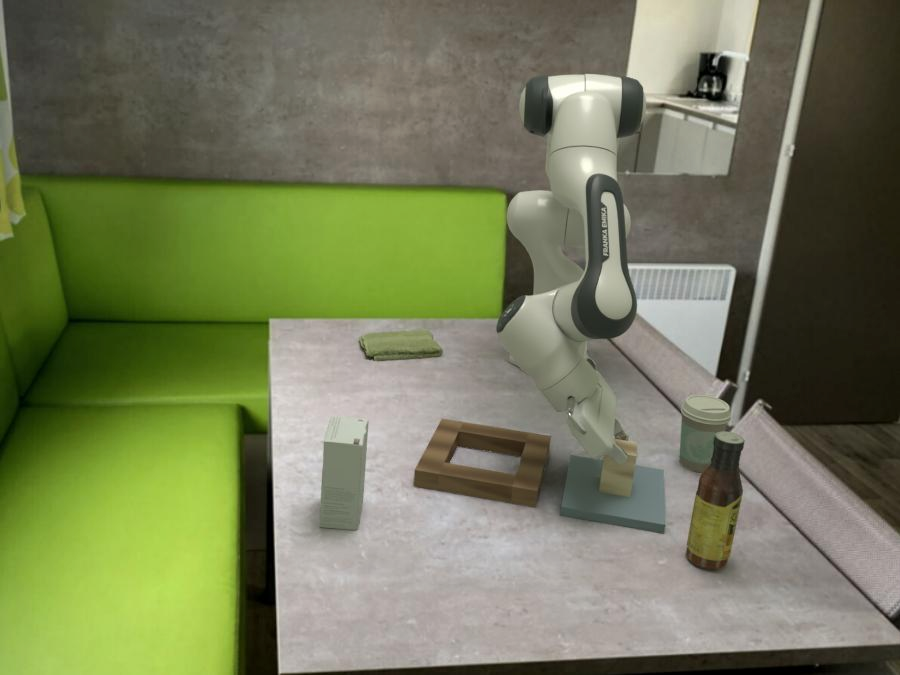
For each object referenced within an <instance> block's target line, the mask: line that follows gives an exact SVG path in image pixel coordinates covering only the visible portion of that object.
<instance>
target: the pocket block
mask: <svg viewBox="0 0 900 675" xmlns="http://www.w3.org/2000/svg"><path fill="white" fill-rule="evenodd" d="M551 437H552V436H551V435H549V434H548V435H547V434H541V433H534V432H528V431H525V430H524V431H523V430H515V429H509V428H505V427H504V428H503V427H498V426H491V425H486V424H479V423H472V422H467V421H460V420H454V419H448V418H443V417H441V419H440V422H439V423H438V425H437V427H436V428H435V430H434V433H433V434H432V436H431V438H430V440H429V442H428V444H427V446H426V448H425V450H424V451H423V453H422V455H421V457H420V459H419V461H418V463H417V465H416V466H415V468H414V476H413V477H414V478H413V486H414V487H419V488H423V489H429V490H433V491H441V492H447V493H450V494H451V493H452V494H457V495H463V496H469V497H474V498H480V499H486V500H492V501H498V502H502V503H503V502H504V503H508V504H515V505H521V506H525V507H526V506H527V507H531V508H536V507H537V504H538V503H537V502H538V498H539V496H540V495H539V494H540V490H541V487H542V483H543V482H542V481H543V479H544V475H545V474H544V473H545V470H544V469H546V466H545V465H547V460H548V456H549V453H550V447H551V446H550V445H551ZM457 446H458V447H459V446H461V448H465V447H467V448H466V449H471V448H474V449H473V450H477V449H479V450H478V451H483V450H485V451H484V452H489V451H491V452H490V453H495V452H496V454H501V453H502V454H501V455H507V454H509V455H508V456H513V455H515V456H514V457H519V456H521V457H520V461H519V463H518V467H517V470H516V473H515V474H514V473H509V472H502V471H498V470H490V469H485V468H479V467H473V466H467V465H461V464H455V463H451V462H452V460H453V458H452V457H454V455H455V453H456V451H455V450H457V449H456V448H458V447H457ZM548 452H549V453H548ZM451 459H452V460H451ZM450 461H451V462H450Z"/></svg>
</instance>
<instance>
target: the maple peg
mask: <svg viewBox="0 0 900 675" xmlns="http://www.w3.org/2000/svg"><path fill="white" fill-rule="evenodd" d="M613 439H614V440H615V442H616V444H617V445H618V446H619V447H620V448H623V449H624V451H625V452H626V453H627V455H628V457H627V458H628V459H627V461H626V462H624V463H623V464H620V465H619V464H618V463H617V462H616V461H615V460H614V458H612V457H611V456H609V455H607V454H606V455H605V456H603V457H602V460H603V464H602V470H601V477H600V486H599V492H602V493H608V494H613V495H619V496H625V497H630V495H631V489H632V483H633V476H634V470H635V465H637V464H636V463H637V457H638V442H637V441H631V440H628V441H626V440H619V439H615V438H613Z"/></svg>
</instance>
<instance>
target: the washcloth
mask: <svg viewBox="0 0 900 675" xmlns="http://www.w3.org/2000/svg"><path fill="white" fill-rule="evenodd" d="M358 340H359V341H360V342H359V343H360V345H361V347H362V348H363V351H364V352H365V354H366V356H367V357H369V358H370V357H371V358H372V359H373V361H374V362H382V361H396V360H412V359H413V360H414V359H427V358H428V359H429V358H430V359H431V358H438V357H441V356H442V355H443V353H444V350H443V348H442V346H440V344H438V342H437V341H436V340H434V335H433V333H432V332H430V330H428V329H426V328H420V329H415V330H395V331H384V332H380V331H378V332H367V333H365V334H362V335H361V336H359V337H358Z"/></svg>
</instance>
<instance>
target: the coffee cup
mask: <svg viewBox="0 0 900 675" xmlns="http://www.w3.org/2000/svg"><path fill="white" fill-rule="evenodd" d="M680 411H681V424H680V426H681V427H680V441H679V442H680V444H679V458H678V459H679V460H678V461H679V464H680V465H681V466H682V467H683V468H685V469H687V470H688V471H692V472H697V473H702V472H703V471H704V470H705V469H706V468H707V467H708V466H709V465H710V464H711V458H712V455H713V450H714V445H713V442H714V437H715V434H716V433H718V432H722V431H727V426H728V423H729V422H730V421H731V420H732V413H731V408H730V405H729V404H728V403H727V402H726V401H725V400H722V399H720V398H717V397H715V396H711V395H704V394H694V395H693V394H692V395H690V396H687V397H686V398H685V401H684V402H683V403H682V405H681V407H680Z"/></svg>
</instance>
